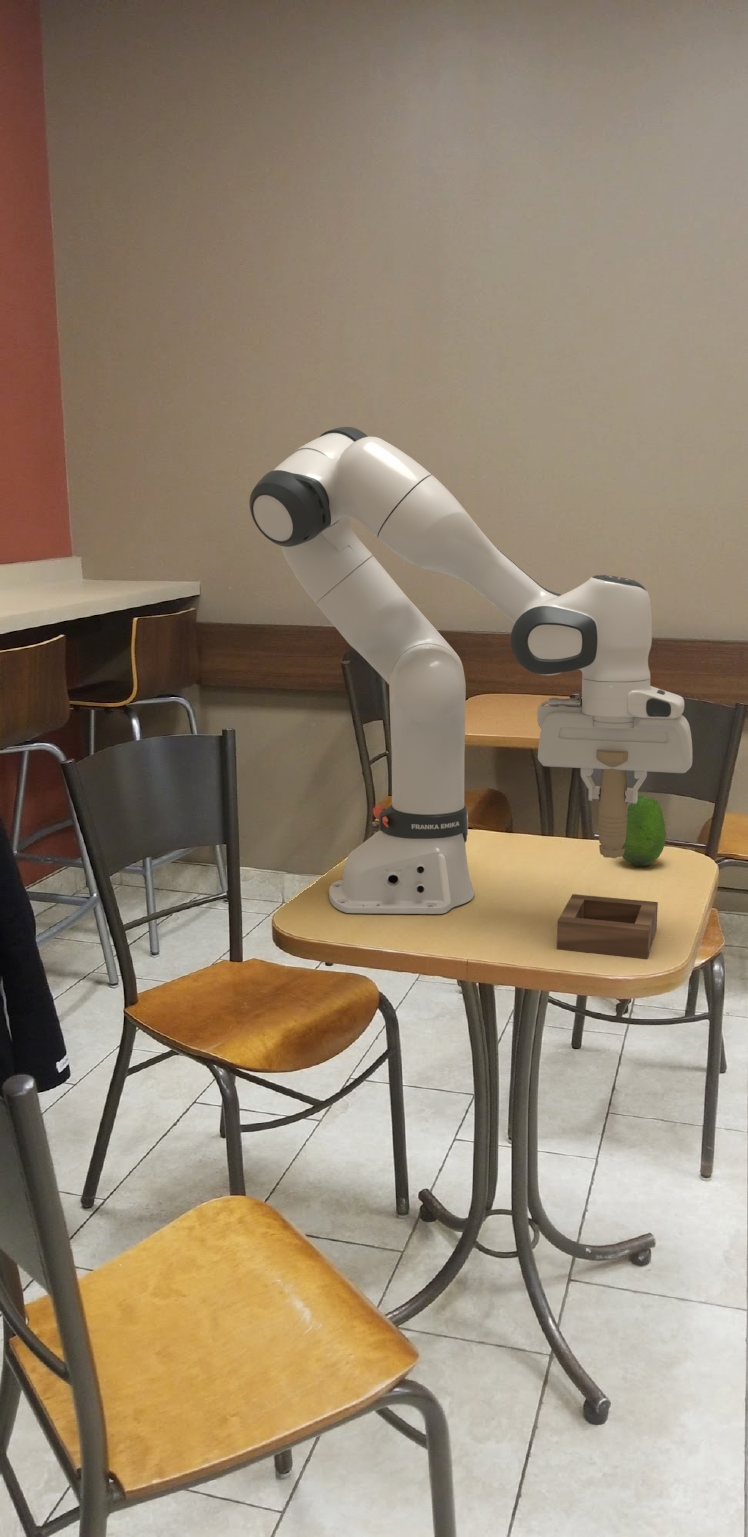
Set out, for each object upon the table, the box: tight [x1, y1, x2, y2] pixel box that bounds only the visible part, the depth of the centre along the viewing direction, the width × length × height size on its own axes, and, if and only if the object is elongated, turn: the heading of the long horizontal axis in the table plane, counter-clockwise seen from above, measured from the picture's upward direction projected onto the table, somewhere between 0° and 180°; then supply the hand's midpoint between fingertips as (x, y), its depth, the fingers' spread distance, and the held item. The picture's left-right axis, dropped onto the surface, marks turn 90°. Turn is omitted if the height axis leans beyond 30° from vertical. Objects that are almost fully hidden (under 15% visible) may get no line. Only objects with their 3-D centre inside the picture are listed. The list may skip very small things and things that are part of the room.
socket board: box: [556, 893, 659, 960], centre depth 159 cm, size 12×12×4 cm
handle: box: [597, 750, 628, 859], centre depth 155 cm, size 5×6×15 cm
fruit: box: [621, 794, 667, 867], centre depth 192 cm, size 8×8×12 cm
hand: (612, 801), depth 155 cm, fingers closed on handle, 3 cm apart
